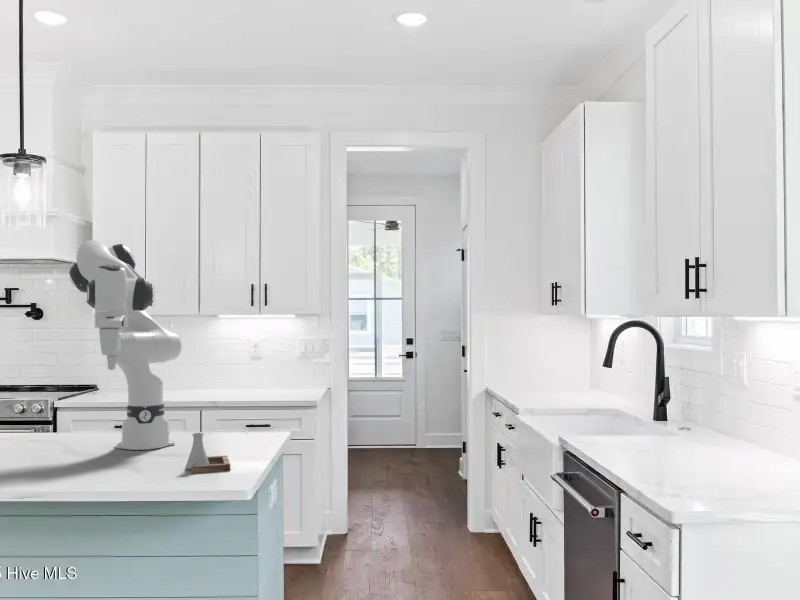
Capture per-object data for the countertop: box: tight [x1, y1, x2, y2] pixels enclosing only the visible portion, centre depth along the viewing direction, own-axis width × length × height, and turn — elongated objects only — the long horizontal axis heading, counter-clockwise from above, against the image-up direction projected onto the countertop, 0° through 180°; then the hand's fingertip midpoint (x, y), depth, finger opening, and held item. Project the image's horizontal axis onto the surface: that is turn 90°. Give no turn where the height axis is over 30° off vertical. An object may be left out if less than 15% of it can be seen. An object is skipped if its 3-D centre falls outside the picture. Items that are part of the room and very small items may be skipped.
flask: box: [185, 432, 210, 470], centre depth 206 cm, size 7×7×10 cm
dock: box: [191, 455, 231, 474], centre depth 207 cm, size 13×10×2 cm
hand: (111, 369), depth 203 cm, fingers closed
